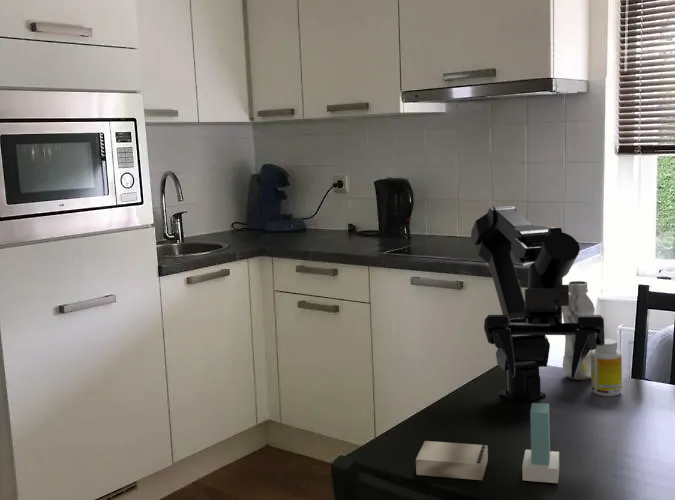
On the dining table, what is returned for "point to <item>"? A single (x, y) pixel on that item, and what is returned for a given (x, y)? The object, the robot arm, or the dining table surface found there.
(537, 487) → the dining table surface
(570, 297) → the plastic bottle
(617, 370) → the supplement bottle
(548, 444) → the teal pillar on base
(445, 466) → the beige flat block
